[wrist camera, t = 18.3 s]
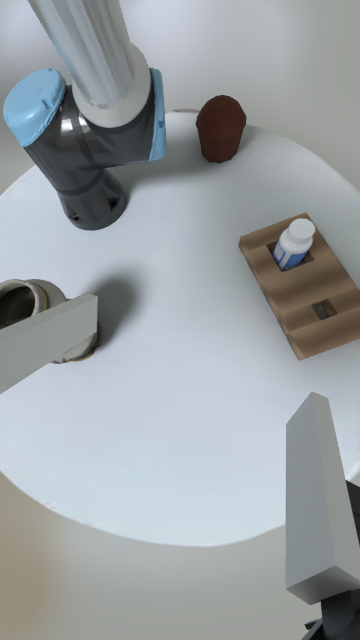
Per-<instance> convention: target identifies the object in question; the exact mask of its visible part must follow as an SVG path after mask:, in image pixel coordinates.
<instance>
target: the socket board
mask: <svg viewBox="0 0 360 640" xmlns="http://www.w3.org/2000/svg"><path fill="white" fill-rule="evenodd" d="M296 219H307V220H309V221H311V219H310V218H309V216H308V215H307V213H303V214H301V215H298V216H295V217H293V218H290V219H287V220H285V221H282V222H279V223H277V224H274V225H271V226H269V227H266V228H263V229H261V230H258V231H255V232H252V233H250V234H247V235H244V236H242V237H240V242H239V248H240V249H241V251H242V253H243V255H244V257H245V259H246V261H247V263H248V265H249V267H250V269H251V271H252V272H253V274H254V276H255V278H256V280H257V282H258V284H259V286H260V288H261V290H262V292H263V294H264V295H265V297H266V299H267V301H268V303H269V305H270V307H271V309H272V311H273V313H274V315H275V316H276V318H277V320H278V322H279V324H280V326H281V328H282V330H283V332H284V334H285V336H286V338H287V339H288V341H289V343H290V345H291V347H292V349H293V351H294V353H295V355H296V357H297V359H298V361H299V360H302V359H305V358H308V357H310V356H313V355H316V354H318V353H321V352H324V351H327V350H329V349H332V348H335V347H338V346H340V345H343V344H346V343H348V342H351V341H354V340H357V339H359V338H360V291H359V289H358V288H357V287H356V285H355V284H354V282H353V281H352V279H351V278H350V276H349V275H348V273H347V272H346V270H345V269H344V268H343V266H342V265H341V263H340V262H339V260H338V259H337V257H336V256H335V254H334V253H333V251H332V250H331V249H330V247H329V246H328V244H327V243H326V241H325V240H324V238H323V237H322V235H321V234H320V232H319V231H318V230H317V228H316V227H315V232H314V234H313V236H312V237H313V242H312V245H311V247H310V248H309V250H308V251H307V253H306V254H305V256H304V257H303V261H304V262H305V264H303V265H300V266H298V267H295V268H292V269H290V270H287V271H284V272H281V270H280V269H279V267H278V265H277V263H276V262H275V260H274V258H273V256H272V255H271V253H270V251H271V250H274V249H275V247H276V245H277V243H278V241H279V238H280V236H281V234H282V233H283V231H284V230H286V229H287V228H289V226H290V224H291V223H292V222H293V221H294V220H296ZM311 222H312V221H311ZM312 223H313V222H312ZM314 226H315V225H314ZM317 305H321V306H322V308H323V310H324V311H325V313H326V315H327V316H328V318H326V319H324V320H320V319H319V317H318V315H317V314H316V312H315V310H314V309H313V307H314V306H317Z"/></svg>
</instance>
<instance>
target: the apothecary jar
mask: <svg viewBox="0 0 360 640" xmlns="http://www.w3.org/2000/svg"><path fill="white" fill-rule="evenodd" d="M69 300H71V299H66V297H65V295H64V294H63V292H62V291H61V290H60V289H59V288H58V287H57V286H55V285H54V284H52V283H50V282H48V281H45V280H39V279H30V280H24V281H23V280H18V279H12V280H7V281H4V282H2V283H0V325H4V324H5V323H7V322H10V321H12V320H15V319H19V318H24V317H31V316H34V315H36V314H38V313H41V312H43V311H45V310H48V309H50V308H53V307H55V306H57V305H60V304H62V303H64V302H67V301H69ZM101 339H102V329H101V326H100V324H99V322H98V321H97V332H95V333H94V334H92V335H91V336H89V337H88V338H86V339H84V340H83V341H81V342H80V343H78V344H77V345H75V346H74V347H72V348H71V349H69V350H68V351H66V352H64V353H63V354H61V355H60V356H58V357H57V358H55V359H54V360H52V361H51V362H49V363H55V364H61V363H66V362H70V361H81V360H84V359H87V358H88V357H90V356H91V355H92V354H93V352H94V350H95V348H96V347H98V346H99V345H100V343H101Z"/></svg>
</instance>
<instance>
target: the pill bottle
mask: <svg viewBox="0 0 360 640" xmlns="http://www.w3.org/2000/svg"><path fill="white" fill-rule="evenodd" d="M314 232H315V226H314V224H313V223H312V222H311V221H309V220H307V219H296V220H294V221H293V222H292V223H291V224H290V226H289V228H287V229H286V230H284V231H283V233H282V234H281V236H280V238H279V241H278V243H277V245H276V247H275V250H274V252H273V254H272V256H273V258H274V260H275V262H276V263H277V265H278V267H279V269H280V270H281V271H282V272H284V271H287V270H290V269H292V268H295V267H297V266H298V264H299V263H300V261H301V260H302V259H303V257H304V256H305V254H306V253H307V251H308V250H309V248H310V247H311V245H312V242H313V237H312V236H313V234H314Z"/></svg>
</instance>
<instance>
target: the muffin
mask: <svg viewBox="0 0 360 640" xmlns="http://www.w3.org/2000/svg"><path fill="white" fill-rule="evenodd" d="M245 125H246V115H245V113H244V111H243V110H242V108H241V106H240V104H239V103H238V101H236V100H235V99H233V98H231V97H229V96H225V95H220V96H216V97H214V98H212V99H210V100H209V101H208V102H207V103H206V104H205V105H204V106H203V108H202V109H201V111H200V113H199V115H198V116H197V120H196V127H197V129H198V133H199V138H200V144H201V149H202V155H203V156H204V157H205V158H206V159H207V160H208V161H209V162H216V163H222V162H224V161H228V160H231V158H232V157H233V156H234V155H235V154H236V153H237V150H238V146H239V143H240V139H241V136H242V132H243V128H244V127H245Z"/></svg>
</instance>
